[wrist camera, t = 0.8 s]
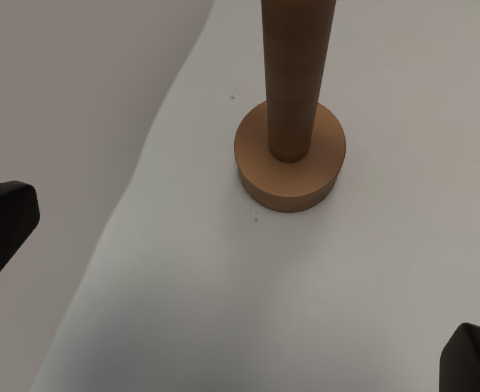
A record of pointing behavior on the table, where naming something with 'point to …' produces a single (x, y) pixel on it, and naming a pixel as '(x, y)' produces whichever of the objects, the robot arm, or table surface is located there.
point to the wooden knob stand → (291, 112)
